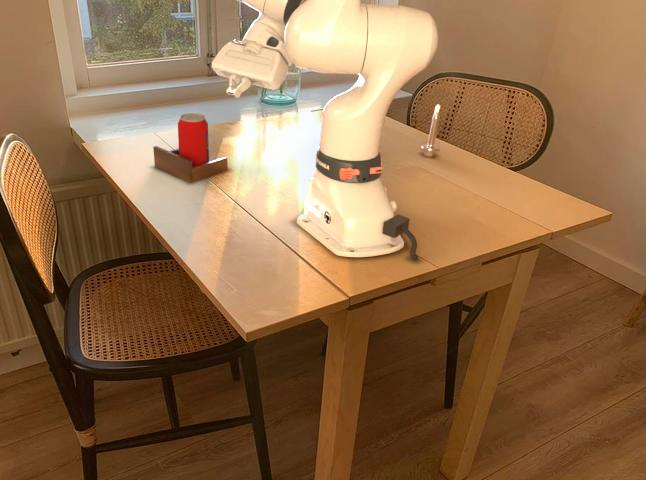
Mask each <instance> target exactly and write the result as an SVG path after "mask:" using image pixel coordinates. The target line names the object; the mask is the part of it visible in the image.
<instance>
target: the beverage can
mask: <svg viewBox="0 0 646 480" xmlns="http://www.w3.org/2000/svg"><path fill="white" fill-rule="evenodd" d="M177 137H178V138H177V139H178V148H179V155H180V156H182V157H185V158H187V159H189V160H192V167H195V166H198V165H201V164H204V163H207V162H210V145H209V144H210V141H209V140H210V139H209V138H210V137H209V123H208V121H207V119H206V117H205V115H204V114H202V113H198V112H188V113H183V114H181V115H180V118H179V120H178V122H177Z"/></svg>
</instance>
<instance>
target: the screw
mask: <svg viewBox="0 0 646 480" xmlns="http://www.w3.org/2000/svg"><path fill="white" fill-rule="evenodd" d="M441 108H442V106H441V105H440V104H436V105H435V106H434V111H433V115H432V119H431V124H430V128H429V134H428V138H427V142H426V143H422V144H420V149H421V150H423V155H424V156H425V157H429V158H432V157H435V154H436V152H439V151H440V150H441V148H440V146H439V145H438V144H436V140H437V133H438V130H439V129H438V128H439V123H440V122H439V121H440V119H441V118H440V117H441V115H440V113H441Z"/></svg>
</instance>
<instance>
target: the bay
mask: <svg viewBox="0 0 646 480" xmlns="http://www.w3.org/2000/svg"><path fill="white" fill-rule="evenodd" d="M152 148H153V150H152V151H153V161H154V168H155V169H157V170H160V172H161V171H162V172H164V173H166V174H168V175H170V176H173V177H175V178H177V179H180V180H181V181H183V182H187V183H189V184H192V183H194V182H197V181H200V180H203V179H207V178H209V177H212V176H215V175H217V174H220V173H222V172H225V171H228V157H226V156H223V157H220V158H216V159H213V160H209V162H207V163H204V164H201V165H198V166H195V167H192V160H189V159H187V158H185V157H182V156H180V155H179V147H178V148H174V149H170V150H167V149H165V148H162V147H160V146H158V145H155V146H153V147H152Z"/></svg>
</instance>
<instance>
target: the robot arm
mask: <svg viewBox="0 0 646 480" xmlns="http://www.w3.org/2000/svg"><path fill="white" fill-rule="evenodd" d="M236 1H238V2H239V3H242V4H245V5H247V6H248V7H250V8H252V9H254V10H255V11H257V12H259V15H258V17H257V19H255V20H254V21H253V22H252V23H251V25H250V27H249V28H248V30H247V32H246V33H245V35H244V37H243V39H242V40H241V41H240V40H237V39H234V40H232V41H230V42H227V43H226V44H225V45H223V46H222V48H221V49H220V50H219V51H218V52H217V54H216V55H215V57H214V58H213V59H212V61H211V69H212V70H213V71H214V73H215V74H216V75H217V76H219V77H223V78H228V80H229V82H228V87H227V89H226V90H225V92H226V94H227V95H228V96H230V97H233V98H236V99H239V98H240V97H241V95H242V93H244V92H245V91H247V90H248V89H249V88H250V87H251V86H257V87H259V88H264V89H268V90H270V91H271V90H272V91H276V90H277V89H279V88H281V86H282V84H283V83H284V81H285V80H286V78H287V76H288V73H289V70H290V67H291V66H292V65H294V67H296V68H299V69H303V70H307V71H310V72H315V73H320V74H336V75H337V74H338V75H339V74H340V75H358V76H359V77H358V79H357V81H356V82H355V83H354V85H353V86H352V87H351V88H349V89H347V90H346V91H344V92H341V93H340V94H337V95H335V96H334V97H332V98H331V99H330V100H329V101H328V102H327V103H326V104H325V106H324V108H323V110H322V113H321V115H322V116H321V125H320V139H319V146H318V147H317V149H316V154H315V168H316V170H315V172H314V174H313V176H312V177H311V178H310V179H309V181H308V182H307V187H306V188H307V189H306V192H305V193H306V194H305V201H304V204H303V205H304V208H303V213H302V214H299V216H297V218H296V224H297V225H298V226H300V228H302V229H303V230H304V231H305V232H306V233H308V234H309V235H311V236H312V238H314V239H316V241H318V242H319V243H321V244H322V245H323V246H324V247H325V248H327V250H328V251H330V252H332V254H334V255H336V256H338V257H345V258H368V257H370V258H371V257H376V256H383V255H389V254H391V253H395V252H397V251H400V250H401V249H403V248H404V247H405V241H404V239H403V237H402V236H401V235H402V234H404V235H406V237H407V238H408V239H409V241H410V243H411V248H410V252H409V253H410V254H409V255H410V257H411V259H412V260H413V261H417V260H418V259H419V255H418V254H417V253H416V252H417V248H418V242H417V239H416V237H415V235H414V234H413V233H412V232H411V231H410V230H409V227H410V226H409V225H410V220H411V218H409V217H407V216H405V215H403V214H399V213H397V214H395V213H396V211H397V202H396V200H390V198H389V197H388V189H387V187H386V186H385V185H384V183H383V180H382V178H381V176H382V174H383V171H382V169H384V167H383V166H382V165H383V163H382V157H381V155H382V154H381V152H380V146H381V141H382V140H381V139H382V134H383V129H384V124H385V120H386V116H387V113H388V110H389V109H390V106H391V104H392V102H393V101H394V98H395V97H396V96H397V94H398V93H399V92H400V90H401V89H402V88H403V87H404V86H405V85H406V84H407V83H408V82H409V81H410V80H412V79H413V78H414V77H415V76H416V75H418V74H420V73H421V72H423V71H424V70H425V69H427V67H428V66H429V65H430V63H431V62H432V61H433V59H434V57H435V55H436V52H437V49H438V44H439V43H438V42H439V31H438V27H437V24H436V21H435V20H434V18H433V16H432V15H431V14H430V13H429V12H428V11H424V10H421V9H417V8H414V7H409V6H405V5H395V4H375V3H374V4H372V3H364V2H362V0H236Z"/></svg>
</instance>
